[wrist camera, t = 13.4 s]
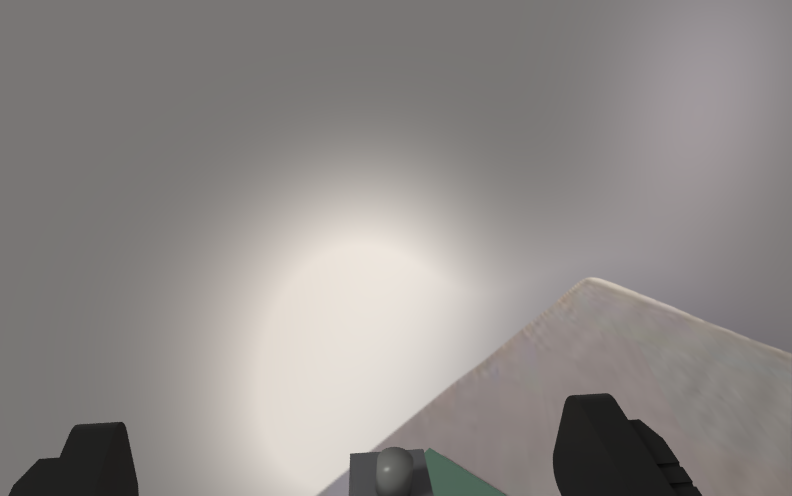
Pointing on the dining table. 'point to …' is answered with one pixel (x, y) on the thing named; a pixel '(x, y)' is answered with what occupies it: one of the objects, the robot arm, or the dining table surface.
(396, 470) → the block
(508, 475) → the dining table surface
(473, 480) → the board
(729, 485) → the dining table surface
